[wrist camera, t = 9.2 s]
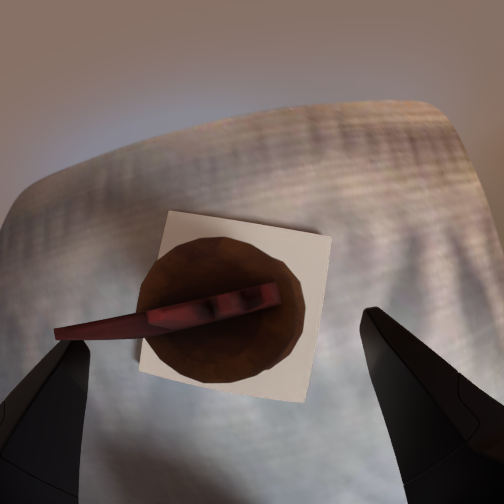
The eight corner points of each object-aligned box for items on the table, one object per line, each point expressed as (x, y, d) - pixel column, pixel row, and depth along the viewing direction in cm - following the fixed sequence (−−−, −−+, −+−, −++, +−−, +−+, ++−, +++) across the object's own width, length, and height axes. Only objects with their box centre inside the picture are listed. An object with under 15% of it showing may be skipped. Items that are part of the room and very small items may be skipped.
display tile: (302, 398, 18) (304, 402, 17) (143, 368, 19) (138, 370, 18) (328, 240, 20) (331, 236, 19) (172, 214, 21) (168, 210, 20)
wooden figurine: (177, 345, 18) (-2, 418, 3) (190, 257, 19) (42, 128, 4) (283, 361, 18) (368, 505, 3) (295, 270, 19) (411, 154, 4)
